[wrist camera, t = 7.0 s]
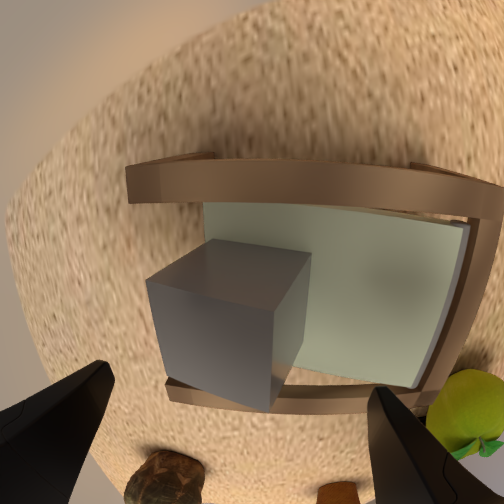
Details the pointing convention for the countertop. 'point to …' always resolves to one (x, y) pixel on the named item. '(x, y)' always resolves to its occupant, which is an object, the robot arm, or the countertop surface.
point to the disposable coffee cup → (338, 493)
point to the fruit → (468, 414)
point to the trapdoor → (360, 281)
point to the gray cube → (232, 318)
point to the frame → (340, 194)
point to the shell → (166, 480)
